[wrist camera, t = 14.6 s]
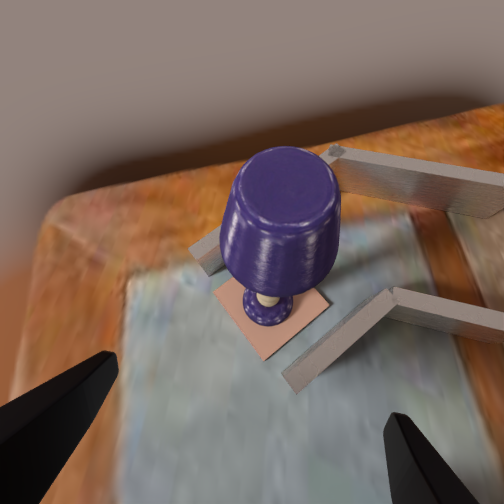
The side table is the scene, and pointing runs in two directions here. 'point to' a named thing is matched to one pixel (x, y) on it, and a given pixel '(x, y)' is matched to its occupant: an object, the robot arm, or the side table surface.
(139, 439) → the side table surface
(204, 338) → the side table surface
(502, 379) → the side table surface
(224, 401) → the side table surface
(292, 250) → the toy lamp
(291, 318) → the end pad
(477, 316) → the bent rails
